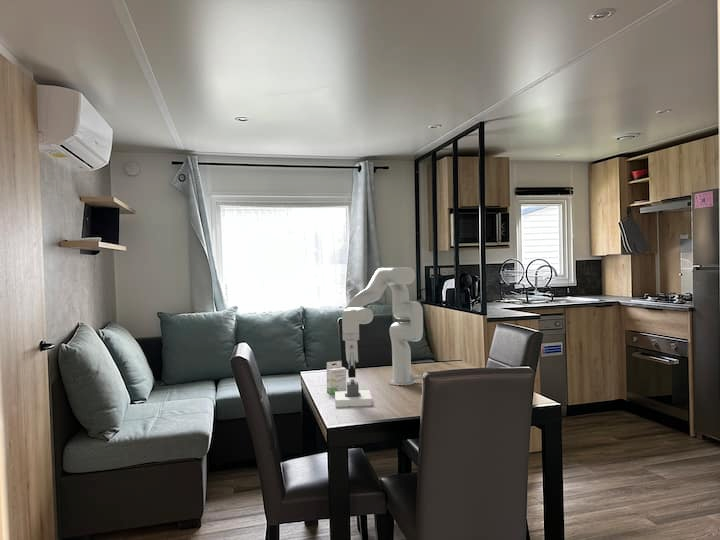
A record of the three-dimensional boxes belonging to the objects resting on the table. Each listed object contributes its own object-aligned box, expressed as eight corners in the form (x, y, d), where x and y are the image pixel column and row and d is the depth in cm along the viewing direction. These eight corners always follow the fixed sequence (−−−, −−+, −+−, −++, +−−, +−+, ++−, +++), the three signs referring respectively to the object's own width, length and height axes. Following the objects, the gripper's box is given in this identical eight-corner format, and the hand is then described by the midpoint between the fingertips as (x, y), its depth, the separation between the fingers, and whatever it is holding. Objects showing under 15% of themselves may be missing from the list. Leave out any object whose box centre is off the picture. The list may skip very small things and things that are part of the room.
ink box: (330, 394, 245) (329, 363, 245) (326, 392, 249) (325, 362, 249) (347, 392, 249) (346, 361, 249) (342, 390, 253) (341, 360, 253)
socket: (369, 396, 239) (369, 389, 239) (372, 405, 223) (371, 398, 223) (335, 397, 238) (334, 391, 238) (335, 407, 222) (335, 400, 222)
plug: (358, 399, 233) (357, 378, 233) (358, 402, 228) (358, 380, 228) (347, 399, 233) (346, 378, 233) (347, 402, 228) (347, 381, 228)
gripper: (360, 338, 223) (361, 380, 223) (358, 334, 238) (359, 373, 238) (343, 339, 222) (344, 381, 222) (342, 334, 237) (343, 374, 237)
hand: (352, 377), depth 230 cm, fingers closed
